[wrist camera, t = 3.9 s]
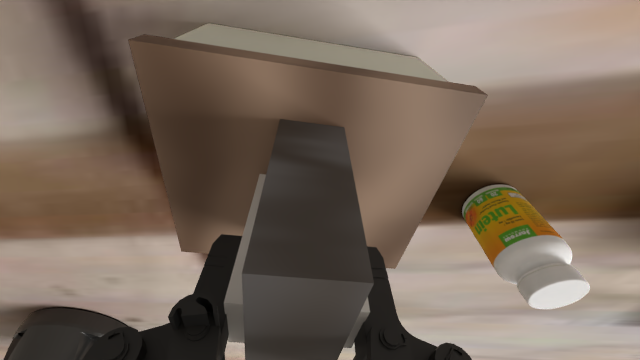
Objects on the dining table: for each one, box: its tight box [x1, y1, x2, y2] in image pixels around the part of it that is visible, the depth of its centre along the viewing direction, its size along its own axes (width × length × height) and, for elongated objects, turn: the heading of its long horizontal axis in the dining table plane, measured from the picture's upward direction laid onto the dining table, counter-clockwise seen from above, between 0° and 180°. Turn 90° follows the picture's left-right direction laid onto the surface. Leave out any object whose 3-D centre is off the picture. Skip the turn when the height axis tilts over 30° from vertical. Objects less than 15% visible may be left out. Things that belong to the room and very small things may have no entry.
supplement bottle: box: [462, 184, 590, 309], centre depth 23 cm, size 5×5×10 cm
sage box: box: [174, 23, 448, 82], centre depth 19 cm, size 14×12×7 cm
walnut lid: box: [128, 34, 488, 360], centre depth 12 cm, size 15×13×10 cm
